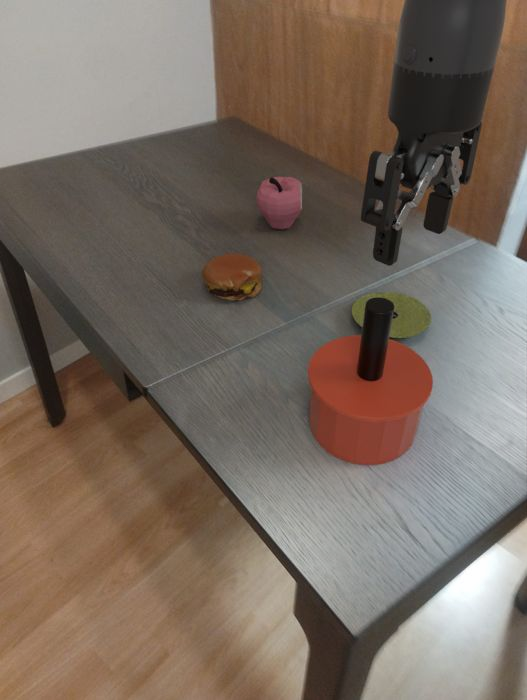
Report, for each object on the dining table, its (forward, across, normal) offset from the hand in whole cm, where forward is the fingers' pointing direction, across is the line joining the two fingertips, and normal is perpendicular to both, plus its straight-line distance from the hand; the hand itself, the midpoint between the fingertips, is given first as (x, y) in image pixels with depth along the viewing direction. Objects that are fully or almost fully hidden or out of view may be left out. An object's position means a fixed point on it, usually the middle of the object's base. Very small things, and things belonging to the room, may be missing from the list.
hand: (410, 245), depth 52 cm
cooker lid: (+14, -4, 0) cm, 15 cm away
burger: (+22, +5, +32) cm, 40 cm away
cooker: (+22, -4, 0) cm, 22 cm away
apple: (+22, +26, +42) cm, 54 cm away
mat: (+22, +14, +9) cm, 28 cm away
